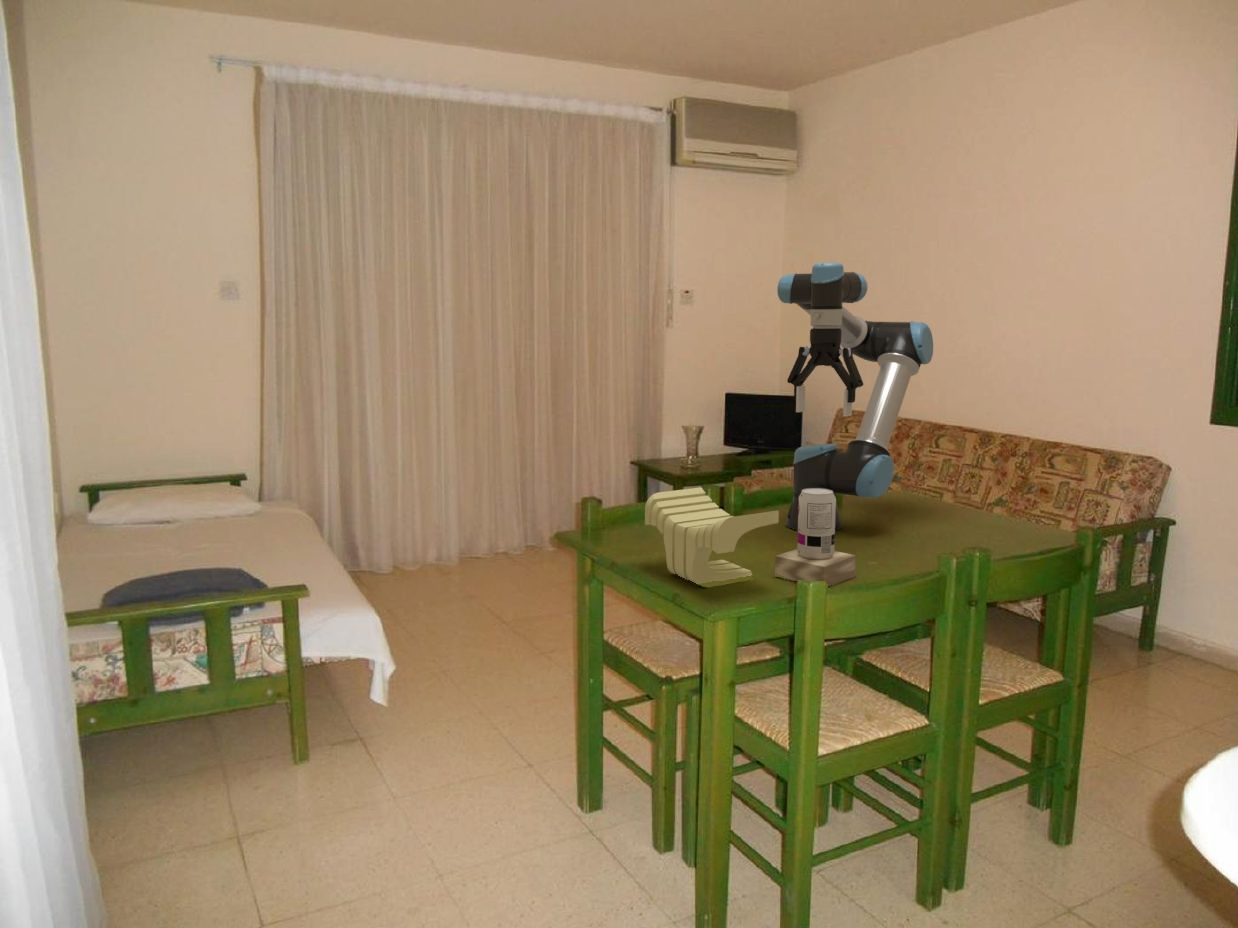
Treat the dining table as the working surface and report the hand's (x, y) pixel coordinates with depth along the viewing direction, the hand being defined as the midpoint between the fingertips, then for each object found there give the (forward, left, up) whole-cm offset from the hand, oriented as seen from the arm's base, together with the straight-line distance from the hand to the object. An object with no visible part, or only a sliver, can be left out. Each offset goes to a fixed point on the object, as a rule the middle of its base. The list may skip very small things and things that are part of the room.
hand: (823, 414), depth 228 cm
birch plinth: (+13, -21, -35) cm, 42 cm away
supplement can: (+13, -21, -30) cm, 39 cm away
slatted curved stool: (-5, -38, -35) cm, 52 cm away
